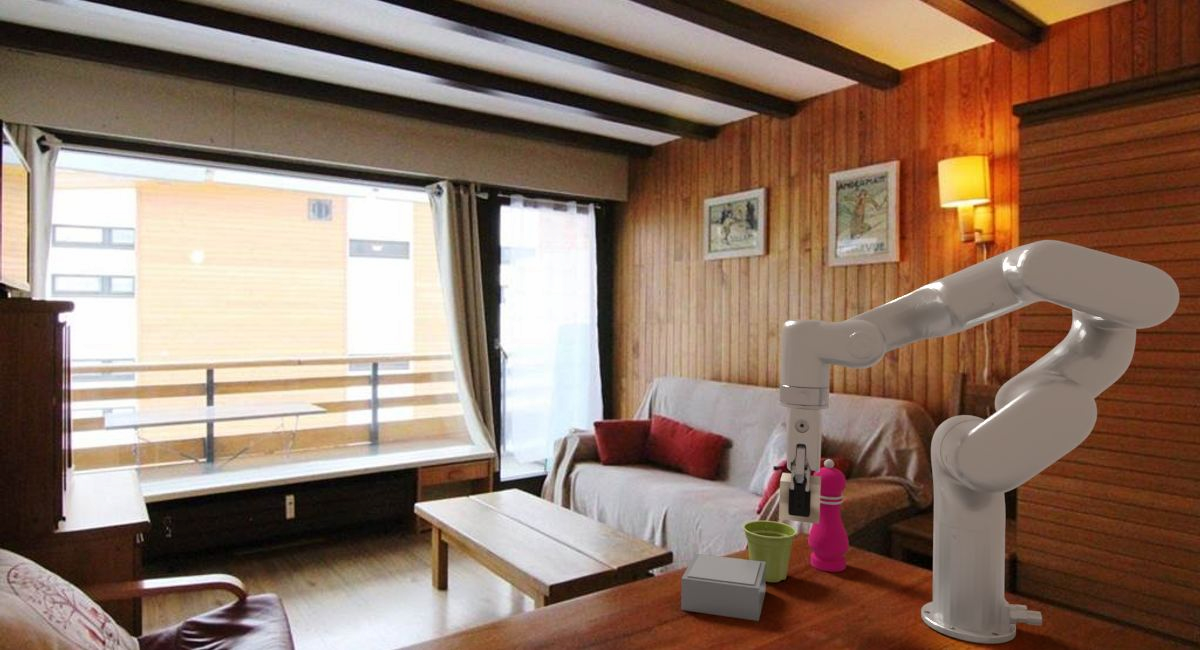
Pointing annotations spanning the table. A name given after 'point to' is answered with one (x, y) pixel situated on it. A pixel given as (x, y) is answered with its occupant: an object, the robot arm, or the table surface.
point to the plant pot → (770, 546)
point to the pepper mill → (829, 523)
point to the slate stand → (724, 586)
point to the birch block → (814, 500)
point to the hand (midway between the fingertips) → (799, 508)
